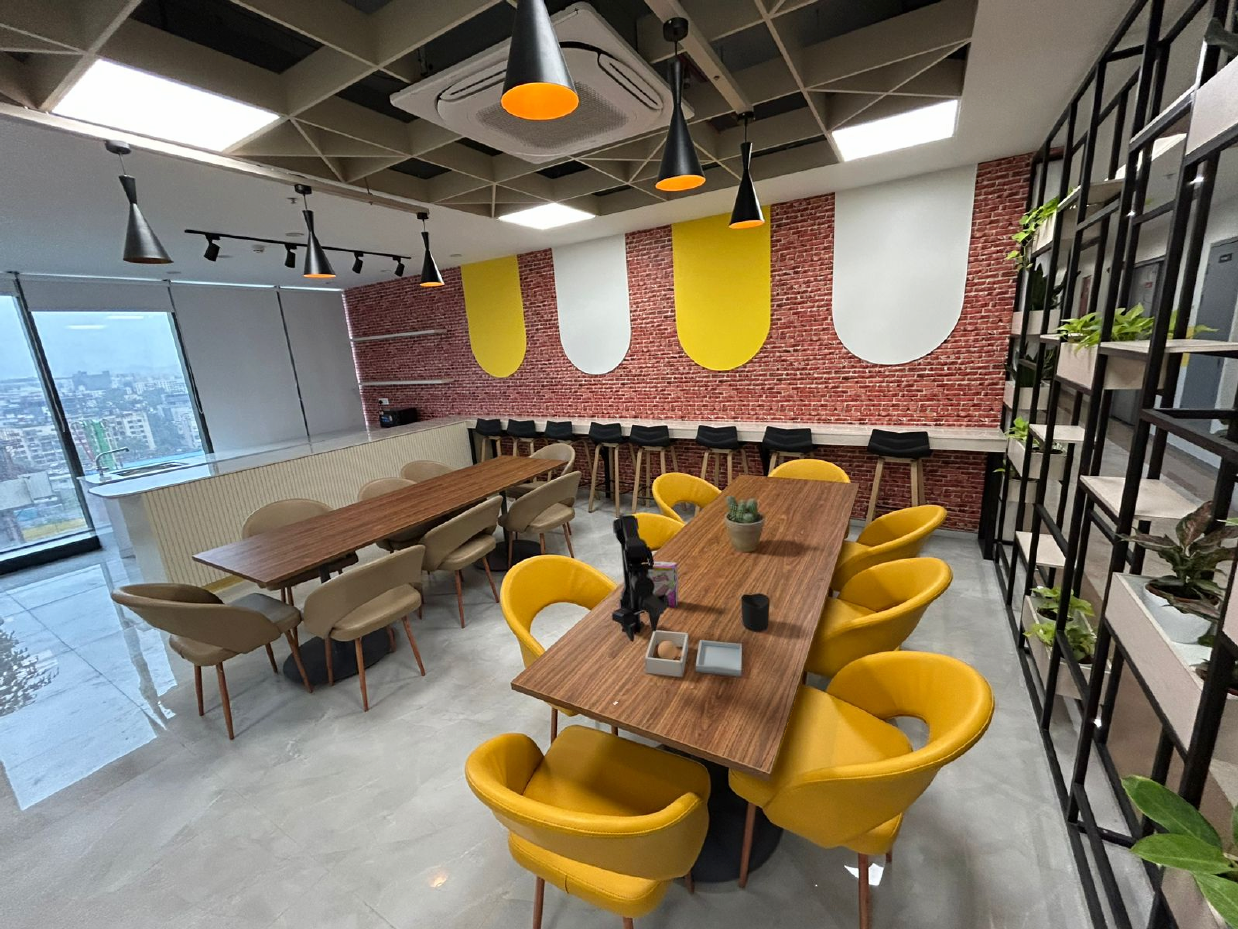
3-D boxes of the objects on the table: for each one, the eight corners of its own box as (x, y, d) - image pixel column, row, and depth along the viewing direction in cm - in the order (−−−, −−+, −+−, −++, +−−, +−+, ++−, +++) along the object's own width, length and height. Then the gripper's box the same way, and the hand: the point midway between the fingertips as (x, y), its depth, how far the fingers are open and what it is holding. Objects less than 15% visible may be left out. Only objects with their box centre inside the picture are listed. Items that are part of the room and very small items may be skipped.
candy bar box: (647, 605, 190) (645, 565, 186) (650, 598, 194) (648, 560, 191) (676, 607, 187) (675, 567, 183) (678, 601, 191) (677, 561, 187)
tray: (699, 645, 163) (699, 640, 162) (741, 649, 159) (741, 643, 159) (695, 672, 150) (695, 665, 150) (741, 677, 147) (741, 670, 146)
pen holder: (748, 615, 179) (748, 589, 177) (773, 623, 173) (774, 597, 171) (736, 627, 172) (736, 601, 170) (762, 635, 166) (762, 609, 164)
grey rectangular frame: (654, 643, 166) (653, 630, 164) (688, 646, 163) (688, 633, 162) (645, 673, 151) (644, 658, 150) (682, 677, 148) (682, 662, 147)
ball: (660, 652, 161) (659, 636, 159) (678, 654, 159) (677, 638, 158) (656, 664, 155) (656, 647, 153) (675, 666, 153) (675, 649, 152)
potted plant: (761, 539, 243) (761, 491, 237) (768, 555, 226) (769, 503, 220) (723, 540, 245) (722, 492, 239) (727, 556, 228) (727, 504, 222)
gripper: (634, 600, 136) (639, 655, 137) (680, 582, 148) (684, 633, 149) (608, 592, 144) (613, 644, 145) (654, 575, 156) (657, 623, 157)
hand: (643, 636), depth 149 cm, fingers open, 9 cm apart
